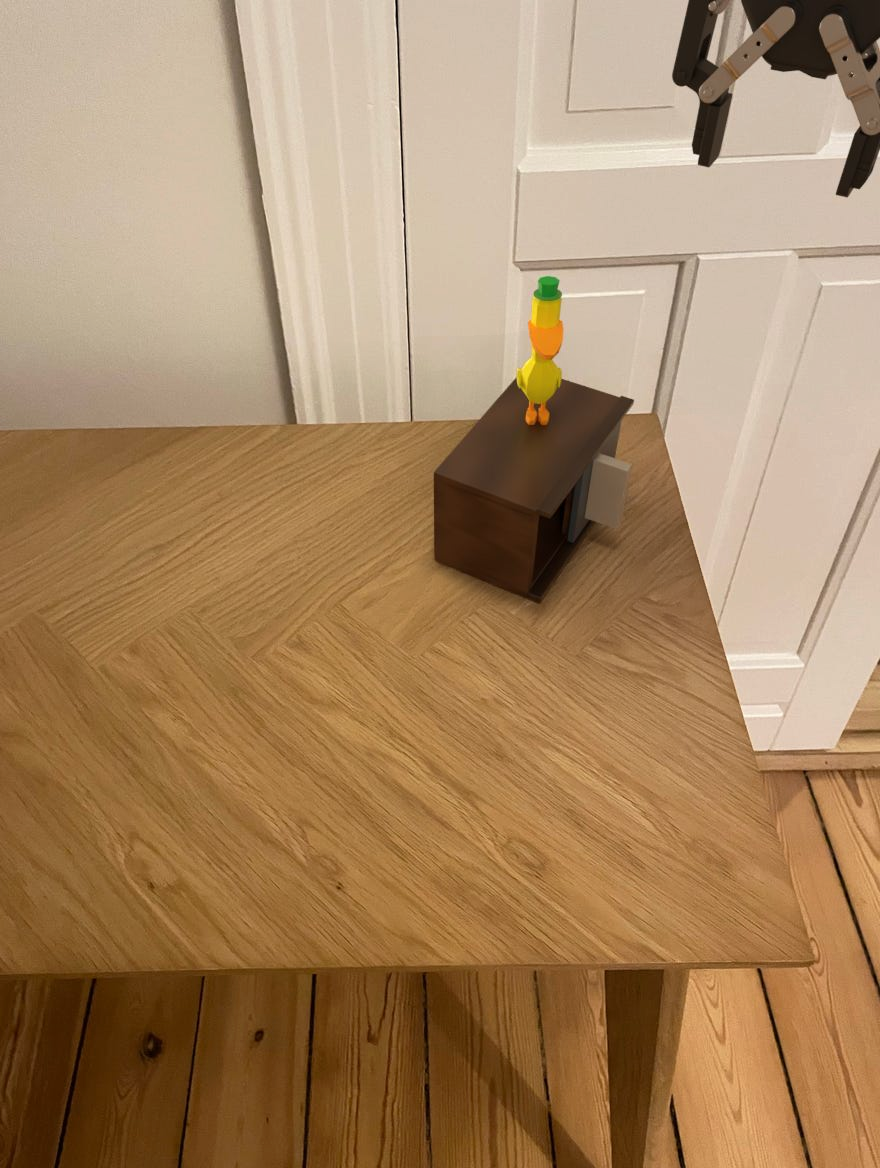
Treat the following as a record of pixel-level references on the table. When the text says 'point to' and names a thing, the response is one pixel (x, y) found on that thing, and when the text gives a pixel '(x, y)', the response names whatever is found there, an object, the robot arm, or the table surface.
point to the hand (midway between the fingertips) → (774, 176)
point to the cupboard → (520, 487)
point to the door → (600, 490)
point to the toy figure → (542, 349)
